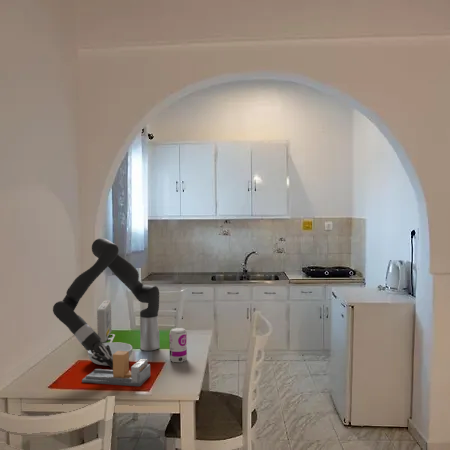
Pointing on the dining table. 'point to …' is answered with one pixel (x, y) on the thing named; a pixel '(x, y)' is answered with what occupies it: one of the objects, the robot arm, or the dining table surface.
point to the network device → (104, 321)
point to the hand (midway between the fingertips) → (114, 366)
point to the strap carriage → (121, 364)
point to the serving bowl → (112, 350)
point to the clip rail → (138, 377)
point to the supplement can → (178, 344)
